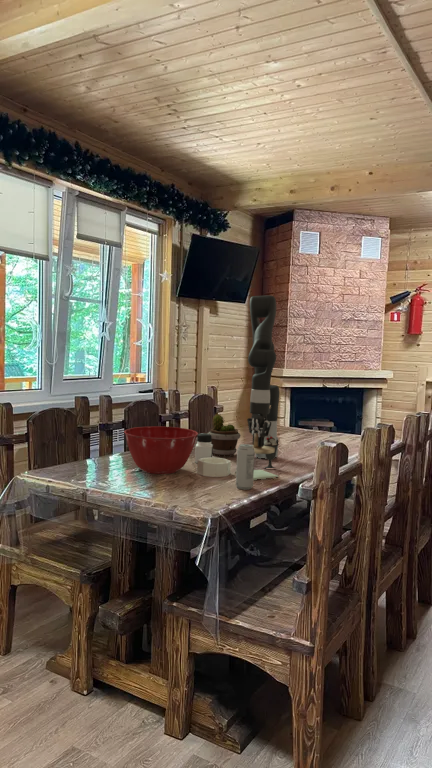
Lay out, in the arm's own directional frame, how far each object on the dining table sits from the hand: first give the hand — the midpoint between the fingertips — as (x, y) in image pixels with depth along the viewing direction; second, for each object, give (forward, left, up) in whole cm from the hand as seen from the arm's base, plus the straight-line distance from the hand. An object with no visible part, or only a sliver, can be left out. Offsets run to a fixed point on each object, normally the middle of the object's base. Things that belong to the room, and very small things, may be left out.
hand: (257, 445), depth 212 cm
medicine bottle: (+7, -31, -12) cm, 34 cm away
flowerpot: (-9, -42, -12) cm, 45 cm away
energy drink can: (+15, +15, -12) cm, 24 cm away
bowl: (+14, -9, -12) cm, 20 cm away
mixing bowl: (+32, -20, -12) cm, 40 cm away
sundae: (-13, -10, -12) cm, 20 cm away
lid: (0, 0, -2) cm, 2 cm away
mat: (0, 0, -12) cm, 12 cm away
